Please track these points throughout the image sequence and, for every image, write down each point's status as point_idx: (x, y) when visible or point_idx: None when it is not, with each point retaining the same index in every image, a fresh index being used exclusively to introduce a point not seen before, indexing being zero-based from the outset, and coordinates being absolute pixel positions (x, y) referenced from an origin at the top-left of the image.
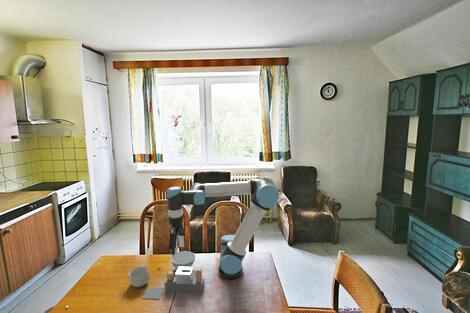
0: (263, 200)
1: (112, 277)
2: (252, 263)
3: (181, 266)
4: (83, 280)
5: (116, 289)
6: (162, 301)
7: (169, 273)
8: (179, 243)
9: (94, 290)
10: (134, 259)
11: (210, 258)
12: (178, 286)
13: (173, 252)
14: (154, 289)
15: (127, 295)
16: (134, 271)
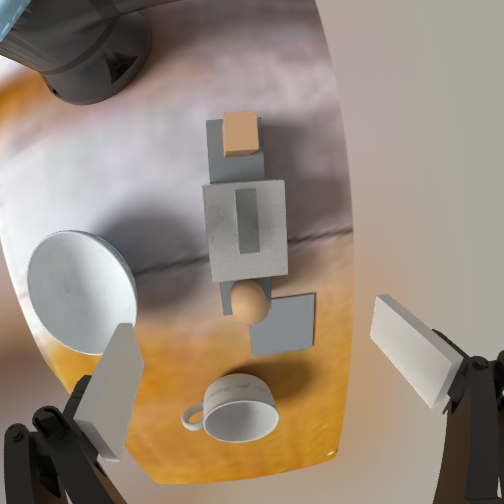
0: None
1: (222, 451)
2: None
3: (134, 281)
4: (247, 478)
5: None
6: (321, 274)
7: (254, 311)
8: (136, 385)
9: (280, 452)
10: None
11: (15, 181)
12: None
13: (450, 345)
14: (264, 332)
15: (297, 389)
16: (224, 431)
